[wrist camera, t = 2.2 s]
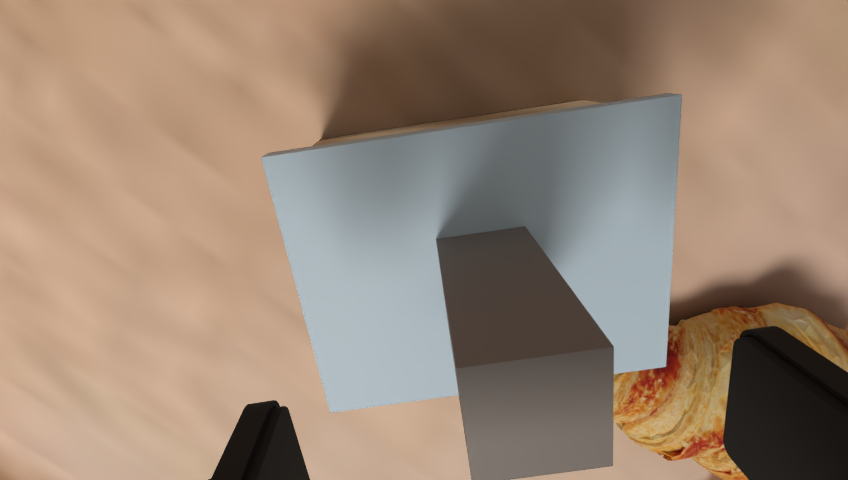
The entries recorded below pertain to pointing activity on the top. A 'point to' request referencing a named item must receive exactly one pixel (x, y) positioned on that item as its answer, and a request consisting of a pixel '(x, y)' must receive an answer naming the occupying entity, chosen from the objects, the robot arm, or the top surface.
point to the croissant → (706, 382)
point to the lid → (491, 271)
